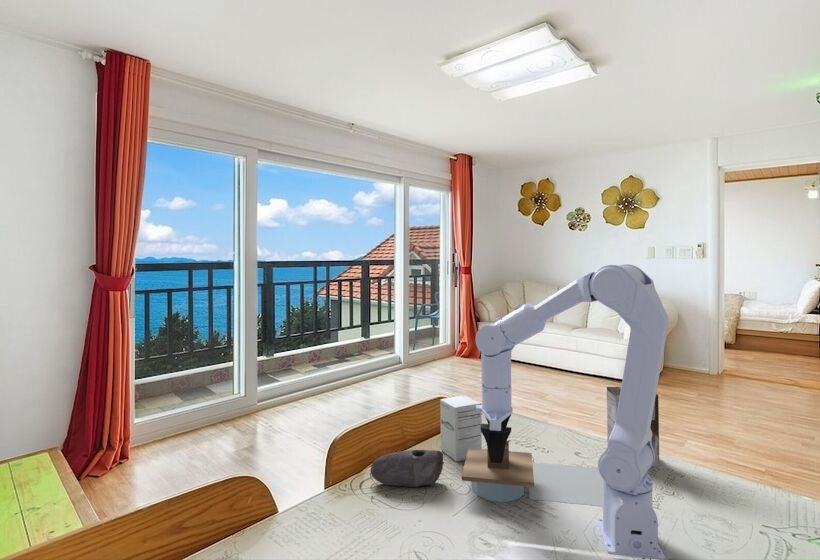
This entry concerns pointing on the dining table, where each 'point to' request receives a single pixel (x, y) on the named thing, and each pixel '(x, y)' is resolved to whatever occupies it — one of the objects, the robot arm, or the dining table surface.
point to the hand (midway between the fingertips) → (497, 453)
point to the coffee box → (612, 408)
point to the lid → (499, 468)
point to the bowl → (497, 491)
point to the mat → (567, 484)
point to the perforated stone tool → (408, 468)
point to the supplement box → (460, 426)
